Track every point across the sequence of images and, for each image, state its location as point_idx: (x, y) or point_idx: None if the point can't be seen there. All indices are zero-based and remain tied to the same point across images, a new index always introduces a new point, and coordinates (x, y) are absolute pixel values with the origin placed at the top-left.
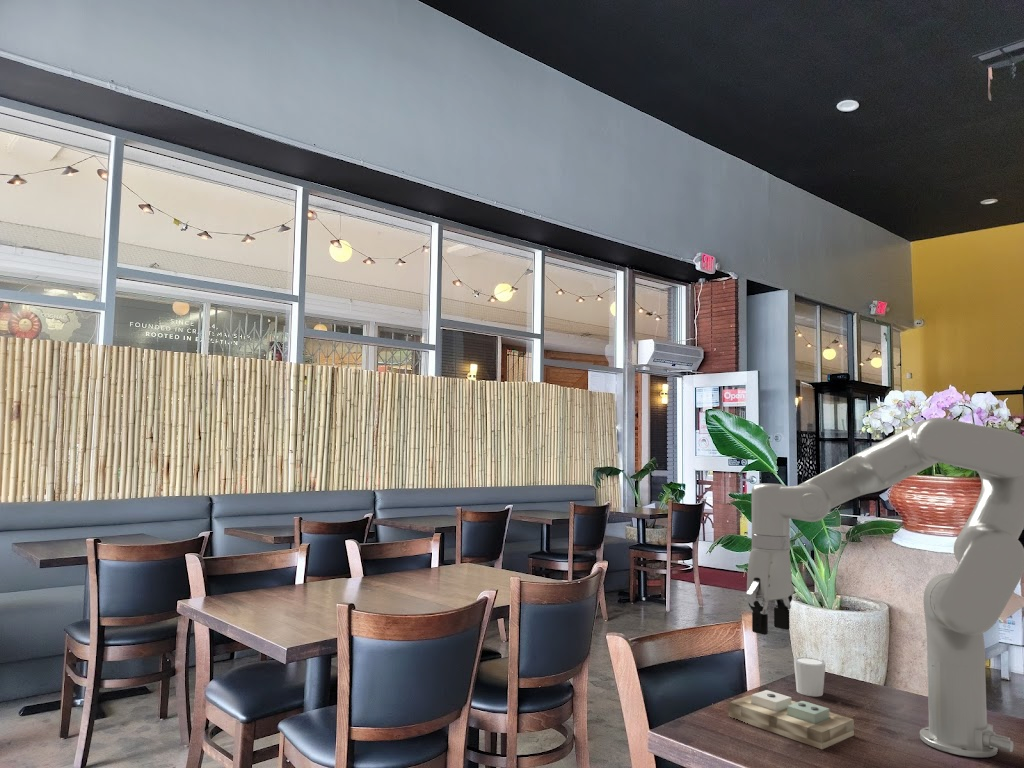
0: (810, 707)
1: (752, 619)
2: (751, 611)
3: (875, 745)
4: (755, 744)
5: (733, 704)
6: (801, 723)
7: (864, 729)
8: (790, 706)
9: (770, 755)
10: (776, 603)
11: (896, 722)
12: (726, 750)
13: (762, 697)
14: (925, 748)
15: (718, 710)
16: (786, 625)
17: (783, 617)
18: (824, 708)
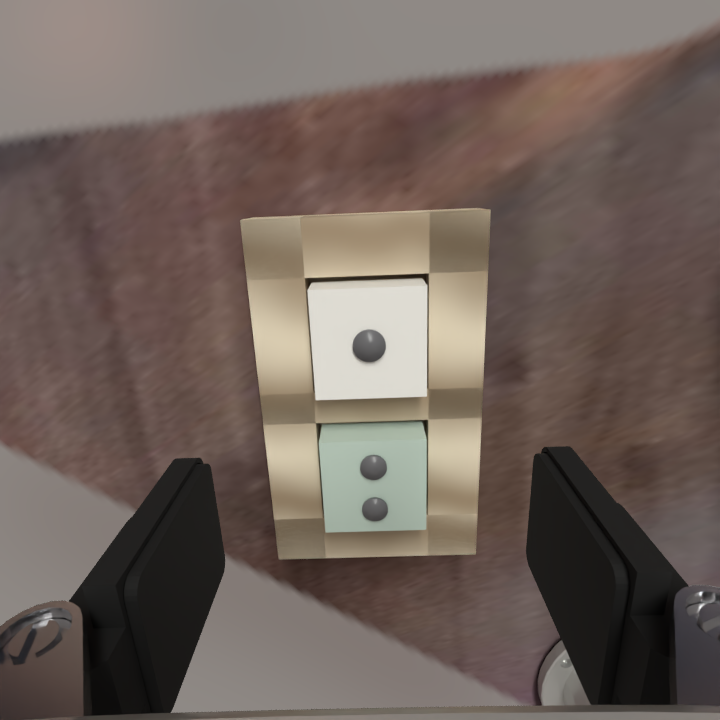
0: (379, 492)
1: (127, 526)
2: (20, 621)
3: (442, 580)
4: (142, 415)
5: (243, 244)
6: (289, 493)
7: None
8: (323, 452)
9: (120, 479)
10: (672, 658)
11: (687, 535)
12: (24, 397)
13: (319, 336)
14: (530, 646)
15: (279, 142)
16: (536, 578)
17: (566, 607)
18: (413, 520)
